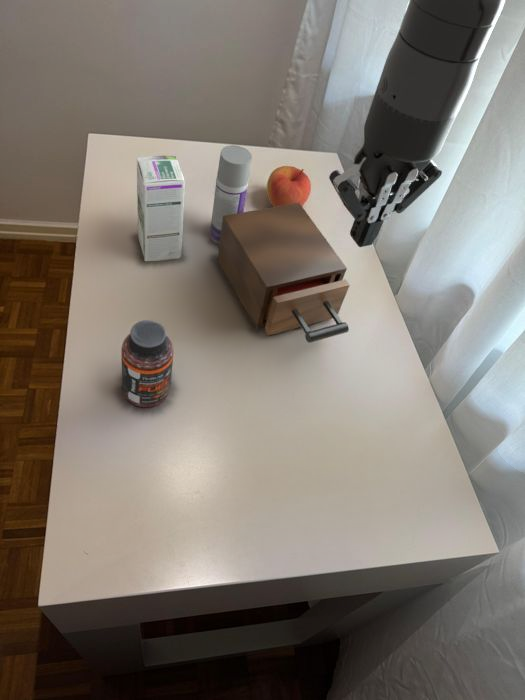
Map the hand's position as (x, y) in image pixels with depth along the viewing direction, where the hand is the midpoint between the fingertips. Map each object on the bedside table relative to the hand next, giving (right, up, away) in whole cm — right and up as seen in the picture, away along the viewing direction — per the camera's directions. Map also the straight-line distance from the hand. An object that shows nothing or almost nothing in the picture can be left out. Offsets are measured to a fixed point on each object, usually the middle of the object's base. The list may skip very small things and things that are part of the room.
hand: (361, 241), depth 64 cm
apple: (-7, +12, +35) cm, 38 cm away
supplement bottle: (-26, -17, +8) cm, 32 cm away
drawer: (-7, -6, +20) cm, 22 cm away
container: (-17, +6, +28) cm, 34 cm away
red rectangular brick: (-7, -5, +19) cm, 21 cm away
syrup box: (-27, +3, +24) cm, 36 cm away
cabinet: (-9, -2, +23) cm, 25 cm away
